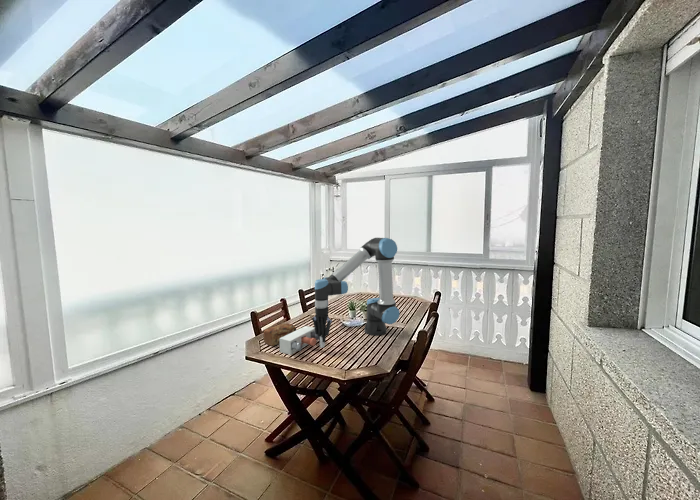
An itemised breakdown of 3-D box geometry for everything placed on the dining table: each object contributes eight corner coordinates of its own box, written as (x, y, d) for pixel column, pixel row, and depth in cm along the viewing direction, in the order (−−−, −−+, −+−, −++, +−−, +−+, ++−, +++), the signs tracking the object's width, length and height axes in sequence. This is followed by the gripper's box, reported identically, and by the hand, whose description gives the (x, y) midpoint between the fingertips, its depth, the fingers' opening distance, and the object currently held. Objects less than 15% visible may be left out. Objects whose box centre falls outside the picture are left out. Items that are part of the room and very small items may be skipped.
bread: (272, 347, 172) (271, 331, 171) (262, 342, 179) (262, 327, 179) (297, 338, 186) (297, 323, 185) (287, 334, 193) (287, 320, 192)
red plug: (316, 344, 170) (316, 337, 170) (311, 347, 166) (311, 339, 166) (301, 341, 176) (301, 333, 175) (296, 343, 172) (296, 336, 171)
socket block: (315, 340, 183) (315, 327, 182) (290, 354, 162) (290, 341, 161) (305, 337, 187) (305, 325, 186) (279, 351, 166) (279, 338, 165)
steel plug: (302, 349, 164) (302, 341, 164) (297, 352, 160) (297, 344, 160) (287, 345, 169) (287, 337, 169) (282, 348, 165) (282, 340, 165)
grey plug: (321, 338, 180) (320, 331, 179) (316, 341, 176) (316, 333, 175) (306, 335, 185) (306, 328, 185) (302, 337, 181) (302, 330, 181)
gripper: (334, 306, 164) (335, 346, 165) (316, 303, 170) (316, 342, 172) (327, 309, 157) (328, 351, 159) (308, 306, 163) (309, 347, 165)
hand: (322, 346), depth 165 cm, fingers closed
